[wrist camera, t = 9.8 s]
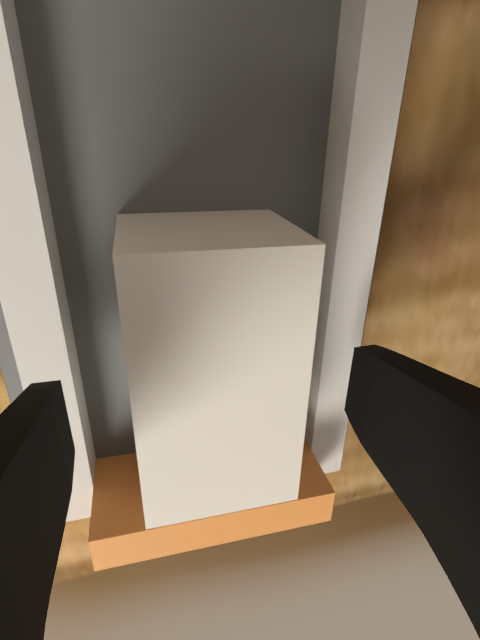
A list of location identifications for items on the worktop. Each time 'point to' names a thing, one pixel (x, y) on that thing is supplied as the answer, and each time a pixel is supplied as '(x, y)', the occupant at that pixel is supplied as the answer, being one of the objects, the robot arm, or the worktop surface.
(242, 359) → the block
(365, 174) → the rail mount board
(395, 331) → the worktop surface
